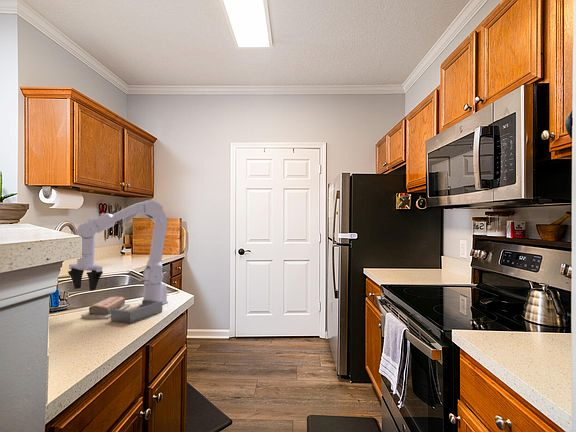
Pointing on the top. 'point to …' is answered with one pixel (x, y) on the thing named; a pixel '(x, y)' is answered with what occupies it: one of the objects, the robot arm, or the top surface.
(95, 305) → the packaged product
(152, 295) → the robot arm
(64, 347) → the top surface
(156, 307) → the dark grey slab
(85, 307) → the top surface
